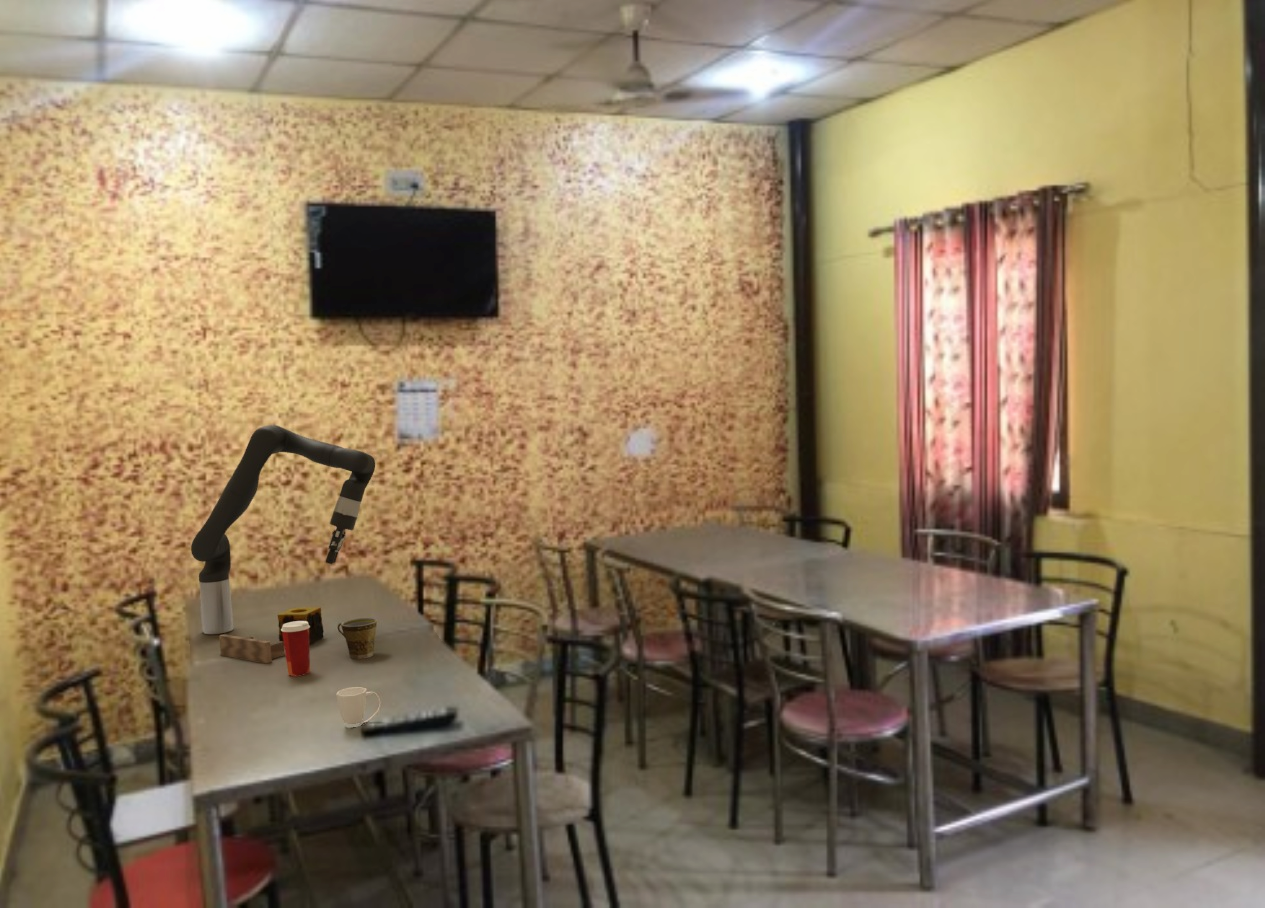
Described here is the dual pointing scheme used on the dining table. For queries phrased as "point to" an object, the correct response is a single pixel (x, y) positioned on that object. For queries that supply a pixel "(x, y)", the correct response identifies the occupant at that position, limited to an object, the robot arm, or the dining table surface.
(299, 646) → the paper cup
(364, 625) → the ceramic cup
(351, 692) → the cup
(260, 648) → the brown rectangular block structure
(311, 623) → the candle
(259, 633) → the dining table surface
